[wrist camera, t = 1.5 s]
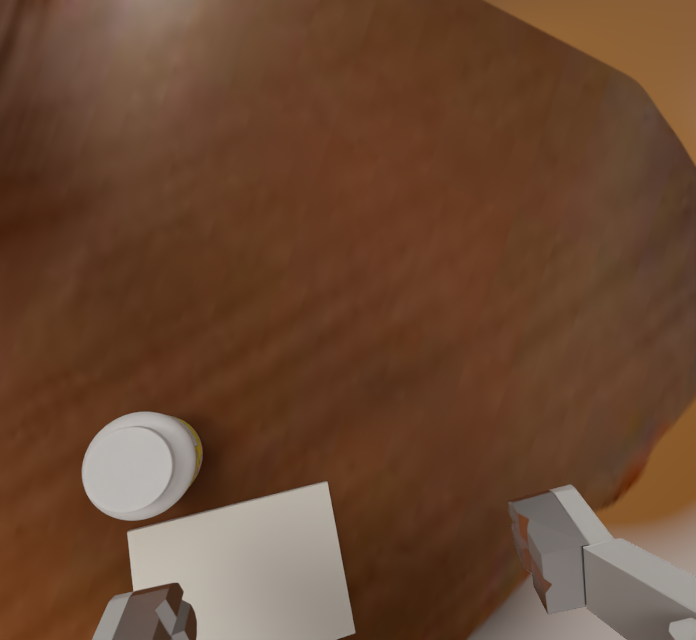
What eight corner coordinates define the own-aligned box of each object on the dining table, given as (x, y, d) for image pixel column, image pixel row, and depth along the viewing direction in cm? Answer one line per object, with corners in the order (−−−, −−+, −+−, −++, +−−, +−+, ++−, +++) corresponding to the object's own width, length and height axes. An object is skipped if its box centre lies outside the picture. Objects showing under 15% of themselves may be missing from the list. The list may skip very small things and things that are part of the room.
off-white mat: (147, 699, 34) (145, 706, 33) (129, 530, 36) (127, 532, 35) (353, 628, 38) (355, 633, 37) (325, 481, 40) (327, 482, 39)
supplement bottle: (153, 518, 36) (112, 562, 24) (99, 454, 37) (32, 467, 24) (220, 458, 39) (214, 471, 26) (170, 398, 39) (140, 385, 27)
